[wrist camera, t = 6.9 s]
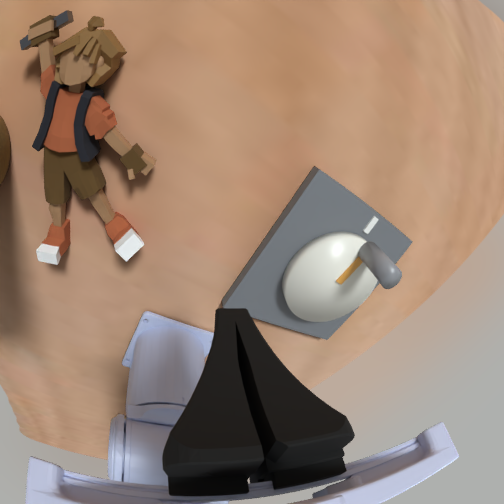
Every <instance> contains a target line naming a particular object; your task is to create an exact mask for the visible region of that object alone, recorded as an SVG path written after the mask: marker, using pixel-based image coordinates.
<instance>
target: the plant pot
mask: <svg viewBox="0 0 504 504" xmlns="http://www.w3.org/2000/svg"><path fill="white" fill-rule="evenodd" d="M9 161H10V139H9V133H8V130H7V127H6V124H5V122H4V120H3V118H2V117H1V116H0V185H1V183H2V181H3V180H4V178H5V176H6V173H7V170H8V167H9Z"/></svg>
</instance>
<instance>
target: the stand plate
mask: <svg viewBox="0 0 504 504" xmlns="http://www.w3.org/2000/svg"><path fill="white" fill-rule="evenodd" d="M332 232H351V233H354V234H357V235H359V236H361V237H362V238H364V239H365V240H366V241H367V242H369V241H372V242H374V243H375V244H376V245H377V246H378V247H379V248H380V249H381V250H382V251H383V252H384V253H385V254H386V255H387V256H388V257H389V259H390V260H391V261H392V262H393V263H394V264H396V263H397V261H398V260H399V259H400V258H401V256H402V255H403V254H404V252H405V251H406V250H407V249H408V247H409V246H410V245H411V243H412V241H411V240H410V239H409V238H408V237H406V236H405V235H404V234H403V233H402V232H401V231H399V230H398V229H397V228H396V227H395V226H393V225H392V224H391V223H390V222H389V221H387V220H386V219H385V218H384V217H383V216H381V215H380V214H379V213H378V212H376V211H375V210H374V209H373V208H371V207H370V206H369V205H367V204H366V203H365V202H364V201H362V200H361V199H360V198H358V197H357V196H356V195H354V194H353V193H352V192H350V191H349V190H348V189H346V188H345V187H344V186H342V185H341V184H339V183H338V182H337V181H335V180H334V179H332V178H331V177H330V176H328V175H327V174H325V173H324V172H322V171H321V170H320V169H318V168H317V167H315V166H314V167H313V168H312V170H311V171H310V173H309V174H308V176H307V177H306V179H305V180H304V182H303V183H302V184H301V186H300V187H299V189H298V190H297V192H296V193H295V195H294V196H293V198H292V199H291V201H290V202H289V203H288V205H287V206H286V208H285V209H284V211H283V212H282V214H281V215H280V217H279V218H278V219H277V221H276V222H275V224H274V225H273V227H272V228H271V230H270V231H269V233H268V234H267V235H266V237H265V238H264V240H263V241H262V243H261V244H260V246H259V247H258V248H257V250H256V251H255V253H254V254H253V256H252V257H251V259H250V260H249V262H248V263H247V264H246V266H245V267H244V269H243V270H242V272H241V273H240V275H239V276H238V277H237V279H236V280H235V282H234V283H233V285H232V286H231V288H230V289H229V291H228V292H227V293H226V295H225V296H224V298H223V299H222V305H223V308H246V309H247V310H248V312H249V314H250V316H251V317H253V318H256V319H259V320H262V321H265V322H268V323H271V324H275V325H278V326H281V327H284V328H288V329H291V330H294V331H298V332H301V333H305V334H308V335H312V336H315V337H319V338H322V339H326V340H327V339H328V338H329V337H330V336H331V335H332V334H333V333H334V332H335V331H336V330H337V329H338V328H339V327H340V326H341V325H342V324H343V323H344V322H345V321H346V320H347V319H348V318H349V317H350V316H351V315H352V313H353V312H354V311H355V310H356V309H357V308H358V307H357V308H356V309H355V310H353V311H352V312H350V313H348V314H346V315H345V316H342V317H340V318H338V319H334V320H331V321H326V322H310V321H306V320H303V319H301V318H299V317H297V316H296V315H295V314H293V312H292V311H291V310H290V308H289V307H288V305H287V302H286V299H285V297H284V294H283V290H282V280H283V275H284V272H285V270H286V267H287V265H288V264H289V262H290V260H291V259H292V258H293V256H294V255H295V254H296V253H297V252H298V251H299V250H300V249H301V248H302V247H303V246H305V245H306V244H307V243H309V242H310V241H312V240H314V239H316V238H318V237H320V236H322V235H325V234H328V233H332ZM379 283H380V282H379V281H377V284H376V286H375V288H376V287H377V285H378V284H379ZM375 288H374V289H375ZM374 289H373V290H374Z"/></svg>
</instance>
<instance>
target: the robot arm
mask: <svg viewBox="0 0 504 504" xmlns="http://www.w3.org/2000/svg"><path fill="white" fill-rule="evenodd" d="M145 319H147V320H145ZM207 355H208V357H207V361H206V364H205V357H206V356H207ZM122 365H124V366H126V367H129V368H130V371H129V379H128V387H127V397H126V419H125V418H124V415H123V414H117V417H114V418H112V419H111V425H110V435H109V449H108V477H109V478H110V480H108V479H103V478H98V477H93V476H88V475H83V474H79V473H75V472H71V471H67V470H63V469H62V468H61V467H60V466H58V465H56V464H53V463H50V462H48V461H44V460H41V459H38V458H35V457H32V456H31V457H30V458H29V466H28V476H27V486H26V487H27V488H26V504H228V502H229V501H232V500H242V499H252V498H260V497H267V496H274V495H280V494H285V493H290V492H295V491H300V490H304V489H309V488H313V487H317V486H321V485H325V484H329V483H332V482H335V481H339V480H342V479H345V478H346V479H345V480H344V481H341V482H339V483H336V484H333V485H330V486H327V487H326V488H325V489H323V490H321V491H318V492H316V493H313V498H312V499H308V500H304V501H300V502H294V503H290V504H380V503H382V502H384V501H386V500H388V499H390V498H392V497H394V496H396V495H398V494H400V493H402V492H404V491H406V490H408V489H409V488H411V487H413V486H415V485H416V484H418V483H420V482H421V481H423V480H425V479H426V478H428V477H430V476H431V475H433V474H434V473H436V472H438V471H439V470H441V469H442V468H444V467H445V466H447V465H448V464H450V463H451V462H453V461H454V460H456V459H457V458H458V457H459V455H458V453H457V451H456V448H455V446H454V444H453V442H452V440H451V438H450V436H449V434H448V431H447V429H446V427H445V426H444V423H443V422H440V423H438V424H436V425H434V426H432V427H430V428H428V429H426V430H425V431H423V432H422V433H420V434H419V435H418V436H417V437H416V438H413V439H411V440H409V441H407V442H404V443H402V444H400V445H397V446H395V447H392V448H390V449H387V450H385V451H382V452H380V453H377V454H375V455H372V456H369V457H366V458H363V459H360V460H357V461H354V462H351V463H348V464H344V461H343V458H342V457H343V456H344V451H343V447H345V446H346V445H347V444H348V443H349V442H350V441H352V440H353V438H354V432H353V429H352V427H351V425H350V423H349V421H348V419H347V417H346V416H345V415H343V414H341V413H340V412H338V411H337V410H335V409H333V408H332V407H330V406H329V405H327V404H326V403H325V402H324V401H322V400H321V399H319V398H318V397H317V396H316V395H314V394H313V393H312V392H311V391H310V390H309V389H307V388H306V387H305V386H304V385H303V384H302V383H301V382H300V381H299V380H298V379H297V378H296V377H295V376H294V375H293V374H292V373H291V372H290V371H289V370H288V369H287V368H286V367H285V366H284V365H283V363H282V362H281V361H280V360H279V358H278V357H277V356H276V355H275V353H274V352H273V351H272V349H271V348H270V347H269V345H268V344H267V342H266V341H265V339H264V338H263V336H262V335H261V333H260V332H259V330H258V328H257V327H256V325H255V323H254V321H253V319H252V318H251V316H250V314H249V312H248V310H247V309H246V308H218V309H217V310H216V313H215V331H214V333H212V332H209V331H206V330H203V329H200V328H196V327H193V326H190V325H187V324H184V323H181V322H178V321H175V320H172V319H169V318H166V317H163V316H161V315H158V314H155V313H152V312H149V311H145V312H144V313H143V314H142V317H141V319H140V321H139V323H138V326H137V328H136V330H135V332H134V335H133V337H132V339H131V341H130V344H129V346H128V348H127V351H126V353H125V356H124V358H123V360H122ZM249 477H250V484H248V482H247V480H248V478H249Z"/></svg>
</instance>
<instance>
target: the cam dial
mask: <svg viewBox="0 0 504 504" xmlns="http://www.w3.org/2000/svg"><path fill="white" fill-rule="evenodd" d="M401 277H402V272H401V271H400V269H399V268H398V267H397V266H396V265H395V264H394V263H393V262H392V261H391V260H390V259H389V257H388V256H387V255H386V254H385V253H384V252H383V251H382V250H381V249H380V248H379V247H378V246H377V245H376V244H375V243H374V242H372V241H369V242H367V241H366V240H365V239H364V238H362V237H361V236H359V235H357V234H354V233H351V232H332V233H328V234H325V235H322V236H320V237H318V238H316V239H314V240H312V241H310V242H309V243H307V244H306V245H305V246H303V247H302V248H301V249H300V250H299V251H298V252H297V253H296V254H295V255H294V256H293V258H292V259H291V260H290V262H289V264H288V265H287V267H286V270H285V272H284V275H283V280H282V290H283V294H284V297H285V299H286V302H287V305H288V307H289V308H290V310H291V311H292V312H293V314H295V315H296V316H297V317H299V318H301V319H303V320H306V321H310V322H326V321H331V320H334V319H338V318H340V317H342V316H345V315H346V314H348V313H350V312H352V311H353V310H355V309H356V308H357V307H359V306H360V305H361V304H362V303H363V302H364V301H365V300H366V299H367V298H368V296H369V295H370V294H371V292H372V291H373V289H374V288H375V286H376V284H377V281H379V282H380V284H381V285H382V286H383V288H385V289H390V288H393V287H394V286H396V285H397V284H398V283H399V281H400V279H401Z"/></svg>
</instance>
